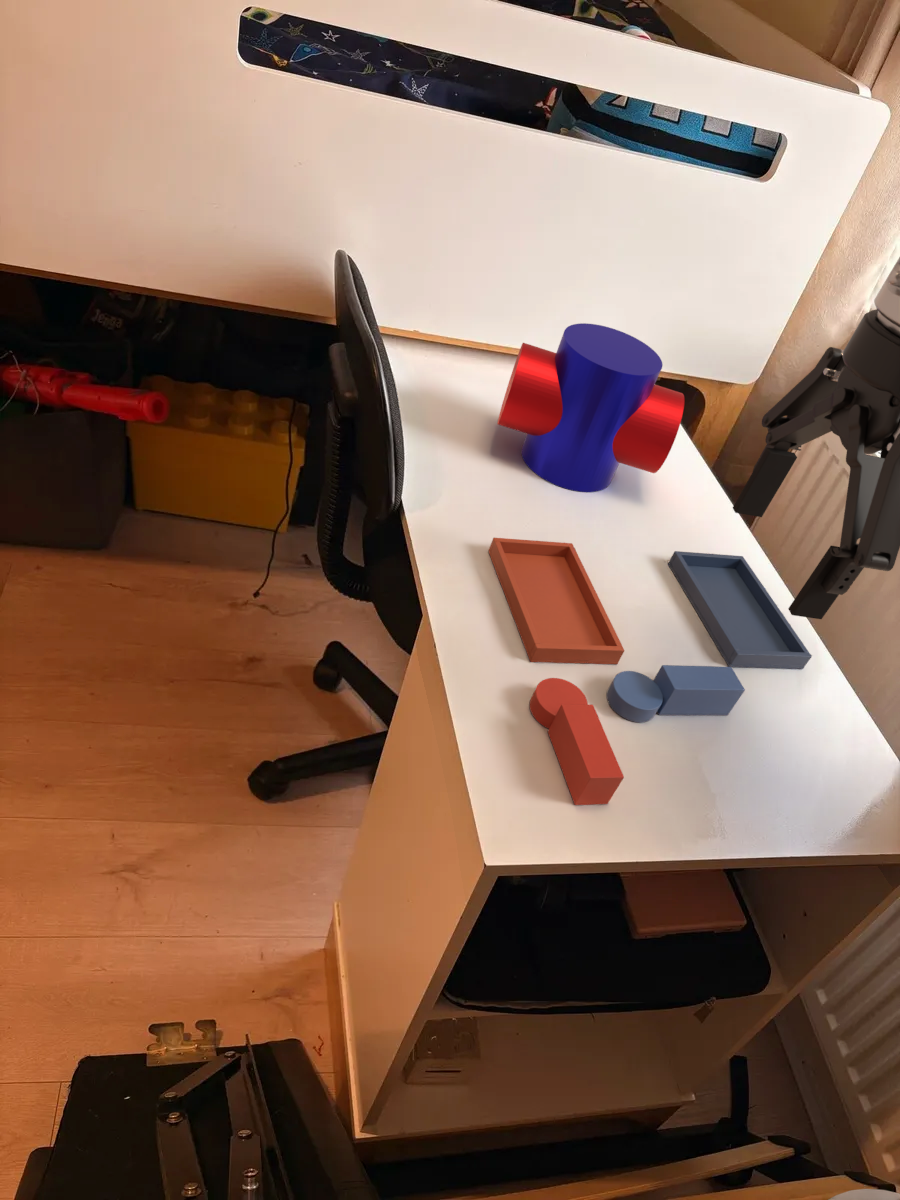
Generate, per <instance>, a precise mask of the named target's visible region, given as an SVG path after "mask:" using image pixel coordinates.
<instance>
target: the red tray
mask: <svg viewBox="0 0 900 1200" xmlns="http://www.w3.org/2000/svg"><path fill="white" fill-rule="evenodd" d="M488 554H489V557H490V559H491V562H492V565H493V567H494V570H495V572H496V575H497V577H498V580H499V583H500V586H501V588H502V591H503V593H504V596H505V598H506V599H505V600H506V601H507V604H508V606H509V609H510V612H511V614H512V618H513V620H514V622H515V626H516V628H517V630H518V633H519V636H520V638H521V640H522V643H523V647H524V648H525V652H526V654H527V657H528V659H529V661H530V663H555V664H556V663H557V664H558V663H559V664H560V663H561V664H595V665H597V664H598V665H599V664H600V665H618V664H619V662H620V660H621V658H622V656H623V655H624V653H625V648H624V647H623V645H622V642H621V640H620V638H619V635H618V634H617V632H616V630H615V627H614V626H613V623H612V622H611V619H610V618H609V616H608V613H607V611H606V609H605V607H604V605H603V603H602V601H601V599H600V597H599V595H598V593H597V592H596V589H595V587H594V585H593V583H592V581H591V579H590V577H589V574H588V573H587V571H586V569H585V566H584V565H583V562H582V561H581V558H580V556H579V555H578V551H577V550H576V549H575V546H574V544H573V543H572V542H558V541H547V540H546V541H545V540H533V539H532V540H530V539H519V538H518V539H517V538H505V537H493V538H492V540H491V542H490V546H489V548H488Z"/></svg>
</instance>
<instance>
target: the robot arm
mask: <svg viewBox="0 0 900 1200" xmlns="http://www.w3.org/2000/svg"><path fill="white" fill-rule="evenodd" d="M873 303H874V306H875V309H871V310H870V311H868V312H866V313H864V315H863V316H862V318H861V320H860V322H859V323H858V325H857V327H856V328H855V330H854V332H853V333H852V335H851V337H850V339H849V340H848V342H847V344H846V345H845V347H844V349H842V348H838V347H834V346H829V347H828V348H827V349H826V350H825V351H824V353H823V354H822V355H821V357H820V359H819V361H818V362H817V364H816V365H815V367H814V368H813V369H812V370H811V371H810V372H809V373H808V374H806V375H805V376H804V378H802V379H801V380H800V381H799V382H798V383H797V384H796V385H795V386H794V387H793V388H792V389H790V390H789V391H788V392H787V393H786V394H785V395H784V396H783V397H782V398H781V399H780V400H778V402H777V403H775V404H774V405H773V406H772V407H771V408H770V409H769V410H768V411H767V412H766V413H765V414H764V415H763V416H762V418H761V426H762V428H767V431H768V432H767V434H766V435H765V444H766V445H765V446H764V448H763V450H762V451H761V454H760V455H759V457H758V459H757V461H756V463H755V464H754V466H753V469H752V473H751V474H750V476H749V478H748V480H747V481H746V483H745V485H744V487H743V488H742V490H741V492H740V493H739V495H738V497H737V499H736V501H735V502H734V505H733V506H732V509H733V511H734V513H735V514H740V515H746V516H753V517H757V518H758V517H759V518H763V516H764V514H765V513H766V511H767V509H768V508H769V506H770V504H771V503H772V501H773V499H774V497H775V496H776V494H777V492H778V491H779V489H780V487H781V486H782V484H783V482H784V481H785V479H786V477H787V476H788V474H789V472H790V470H791V469H792V467H793V465H794V464H795V462H796V460H797V459H798V456H797V454H796V453H795V452H793V451H789V450H794V451H798V452H800V451H801V452H802V449H801V448H802V446H804V445H806V444H807V443H809V442H812V441H814V440H817V439H818V438H820V437H822V436H825V435H826V434H829V433H831V432H832V433H833V434H834V435H835V436H837V437H839V440H840V443H841V446H843V448H844V449H845V450H846V454H845V462H846V465H848V467H849V476H848V485H847V489H846V490H847V491H846V499H845V506H844V513H843V518H842V519H843V520H842V528H841V537H840V543H839V546H837V545H829V548H828V549H827V550H826V552H825V553H824V555H823V556H822V558H821V559H820V561H819V562H818V564H817V565H816V567H815V568H814V570H813V571H812V572H811V574H810V576H809V577H808V578H807V579H806V582H805V583H804V585H803V586H802V588H801V589H800V590H799V592H798V593H797V595H796V596H795V598H794V600H793V601H792V603H790V605H789V606H788V611H789V613H790V615H791V616H793V617H794V616H795V617H801V618H809V619H814V620H815V619H816V620H823V618H824V617H825V615H826V613H827V612H828V611H829V609H831V608H832V607H831V606H832V605H833V604H834V603H835V601H836V599H838V597H839V595H840V596H843V595H845V594H846V593H847V592H848V591H849V589H850V588H851V586H852V585H853V584H854V583H855V581H856V580H857V578H858V577H859V575H860V574H861V572H862V571H863V570H864V569H865V568H866V569H870V570H871V569H872V570H875V571H884V572H890V571H891V570H893V568H894V567H895V563H896V561H897V557H898V554H899V551H900V256H899V257H898V259H897V260H896V261H895V264H894V266H893V267H892V269H891V270H890V272H889V273H888V276H887V277H886V279H885V281H884V282H883V284H882V285H881V287H880V289H879V291H878V293H877V295H876V296H875V297H874V299H873ZM878 452H880V455H879V456H875V455H873V454H875V453H878ZM858 540H859V542H858ZM857 542H858V543H857ZM827 1200H900V1193H899V1192H894V1191H890V1190H887V1189H875V1188H860V1189H852V1190H848V1191H845V1192H841V1193H839V1194H836V1195H834V1196H832V1197H830V1198H828V1199H827Z"/></svg>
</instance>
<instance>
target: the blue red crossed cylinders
mask: <svg viewBox="0 0 900 1200" xmlns="http://www.w3.org/2000/svg"><path fill="white" fill-rule="evenodd" d="M517 354H518V355H517V357H516V360H515V363H514V365H513V368H512V371H511V375H510V377H509V381H508V383H507V387H506V391H505V394H504V397H503V400H502V404H501V407H500V411H499V415H498V419H497V423H496V424H497V425H498V426H501V427H505V428H507V429H511V430H514V431H517V432H520V433H524V434H526V436H525V439H524V440H523V444H522V447H521V449H520V450H521V451H520V452H521V457H522V460H523V462H524V463H525V464H526V466H527V467H528V468H529V470H531V471H532V472H533V473H534V474H536V475H537V476H538V477H539V478H541V479H543V480H545V481H546V482H548V483H550V484H552V485H555V486H557V487H558V488H559V487H560V488H562V489H566V490H569V491H574V492H580V493H596V492H599V491H603V490H605V489H606V488H608V487H609V486H610V484H611V483H612V480H613V478H614V476H615V474H616V472H617V470H618V467H619V465H620V464H623V465H626V466H629V467H632V468H635V469H638V470H642V471H644V472H648V473H652V474H656V473H657V472H658V471H659V470H660V469H661V468H662V467H663V465H664V463H665V461H666V460H667V458H668V456H669V454H670V452H671V450H672V448H673V445H674V443H675V441H676V437H677V435H678V433H679V429H680V426H681V423H682V419H683V414H684V409H685V395H684V393H683V392H679V391H677V390H673V389H670V388H668V387H665V386H660V385H659V384H656V382H657V381H658V378H659V376H660V374H661V371H662V369H663V361H662V359H661V357H660V356H659V354H658V353H657V352H656V351H655V350H654V349H653V348H652V347H650V346H649V345H648V344H647V343H645V342H643V341H642V340H640V339H639V338H636V337H634V336H632V335H631V334H628V333H626V332H623V331H621V330H619V329H615V328H612V327H609V326H606V325H601V324H595V323H586V322H585V323H584V322H583V323H581V322H580V323H574V324H571V325H568V326H567V327H565V329H564V331H563V333H562V336H561V339H560V341H559V344H558V346H557V350H556V352H554V351H551V350H548V349H545V348H542V347H538V346H537V345H536V346H535V345H532V344H530V343H525V342H522V344H521V346H520V348H519V351H518V353H517Z"/></svg>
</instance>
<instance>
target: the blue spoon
mask: <svg viewBox="0 0 900 1200" xmlns="http://www.w3.org/2000/svg"><path fill="white" fill-rule="evenodd" d="M745 691H746V689H745V688H744V685H742V682H741V680H740V679H739V677H738V676H737V674H736V673H735V670H734V669H733V667H729V666H712V665H676V664H675V665H673V664H670V665H669V664H662V665H661V666H660V667H659V670H658V672H657V673H656V675H655V677H654V678H653V679H652V678H650V677H649V676H647V675H645V674H643V673H641V672H638V671H635V670H624V671H620V672H619V673H617V674H615V676H614V678H613V680H612V681H611V683H610V685H609V687H608V689H607V690H606V699H607V703H608V704H609V706H610V708H611V709H612V710H613V711H614V712H615V713H616V714H617V715H619V716H620V717H621V718H623V719H625V720H627V721H631V722H634V723H647V722H649V721H651V720H652V719H654V717H655V716H656V713H657V714H658V715H659V716H729V714H730V713H731V711H732V710H733V709H734V707H735V705H737V703H738V701H739V700H740V699H741V697H742V695H743V694H744V692H745Z"/></svg>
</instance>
